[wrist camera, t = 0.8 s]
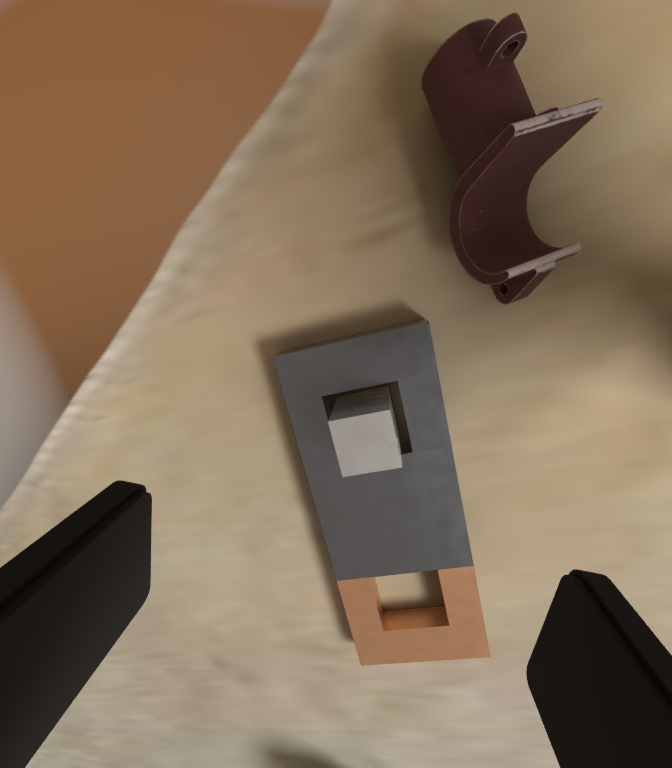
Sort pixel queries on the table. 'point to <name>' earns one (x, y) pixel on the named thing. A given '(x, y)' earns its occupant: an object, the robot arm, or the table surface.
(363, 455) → the grey rectangular block
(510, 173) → the bracket
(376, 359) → the grey copper flat plate
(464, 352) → the table surface
